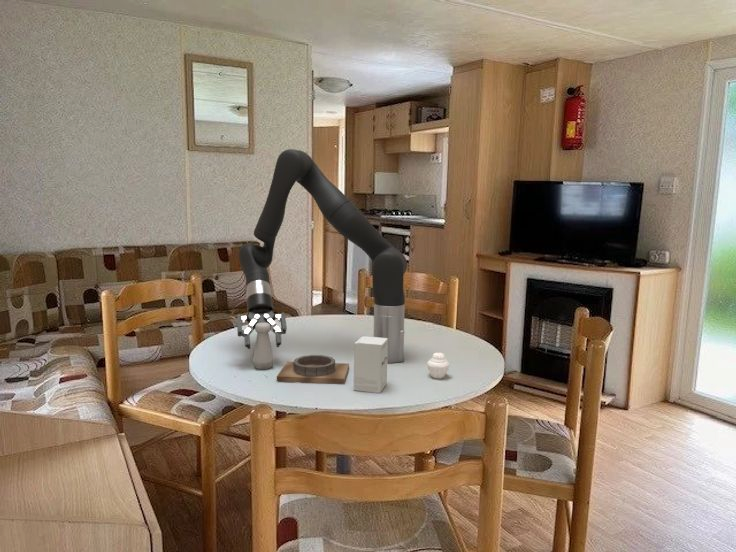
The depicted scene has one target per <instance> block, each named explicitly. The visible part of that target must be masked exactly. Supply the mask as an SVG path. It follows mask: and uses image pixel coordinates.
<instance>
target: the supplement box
mask: <svg viewBox="0 0 736 552" xmlns="http://www.w3.org/2000/svg"><path fill="white" fill-rule="evenodd" d="M353 352H354V353H353V391H356V392H357V391H358V392H359V391H360V392H368V393H374V394H375V393H376V394H381V392H382V391H383V389H384V388H385V386H386V385H387V383H388V363H387V358H388V338H380V337H374V336H363V335H362V336H361V337H359V339H357V341H355V342H354V343H353Z"/></svg>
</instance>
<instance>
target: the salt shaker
mask: <svg viewBox="0 0 736 552" xmlns="http://www.w3.org/2000/svg"><path fill="white" fill-rule="evenodd" d="M254 330H255V332H256V333H257V334H256V340H255V345H254V350H253V351H254V353H253V359H252V361H253V364H254V367H255V368H256V369H257V368H258V369H257V370H259V369H266V370H268V368H269V369H271V368H272V365H273V363H274V359H275V358H274V357H275V356H274V353H273V348H272V344H271V339H270V334H269V332H271V326H270V324H269V323H258V324H256V326H255V329H254Z"/></svg>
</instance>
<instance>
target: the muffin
mask: <svg viewBox="0 0 736 552" xmlns="http://www.w3.org/2000/svg"><path fill="white" fill-rule="evenodd" d="M426 365H427V369H428V371H429V373H430V375H431V377H432V378H433V379H443V378H445V376H446V374H447V372H448V370H449V368H450V363H449V361H448V360H447V359H446V356H445V354H444V353H442V352H435V353H432V356H431V357H430V359H429V360H428V361H427V362H426Z"/></svg>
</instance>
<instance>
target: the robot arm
mask: <svg viewBox="0 0 736 552" xmlns="http://www.w3.org/2000/svg"><path fill="white" fill-rule="evenodd" d="M296 182H297V183H298V184H299V185H300V186H301V187H302V188H304V190H306V191H307V192H308V194H309V195H310V196H312V198H313V199H314V201H315V204H316V206H317V207H318V210H320V212H321V214H322V216H323V217H324V218H325V219H326V220H327V222H328V223H329V224H330V225H331V227H333V228H334V229H335V230H336V232H338V233H339V234H340V235H341V236H343V237H344V238H345V239H347V240H348V241H350V242H351V243H352V244H354V245H355V246H357V247H358V248H359V249H361V250H362V251H363V252H364V253H365V254H366V255H367V256H368V258H370V259H371V261H372V262H373V263H372V273H371V275H372V294H373V337H380V338H388V358H387V364H395V363H399V362H402V363H403V362H404V357H405V355H404V353H405V352H404V351H405V350H404V349H405V306H406V305H405V304H406V300H405V299H406V296H405V292H404V275H405V273H406V271H407V269H408V262H407V261H408V260H407V258H406V255H404V254H403V252H401V251H400V249H398V248H397V247H395V246H394V245H393V244H391V243H390V241H388V240H387V239H386V238H385V237H384V236H383V235H382V234H381V233H380V232H379V231H378V230H377V229H376V228H375V226H374V225H373V224H372V223H371V221H369V220H368V218H367V217H366V216H365V215H364V213H363V212H362V211H361V210H360V209H359V208H358V207H357V206H356V205H355V204H354V203H353V202H352V201H351V200H350V199H349V197H347V196H346V195H345V194H344V192H342V191H341V190H340V189H339V188H338V187H337V186H336V185H335V184H333V182H331V181H330V180H329V179H328V178H327V177H326V175H325V174H324V173H323V172H322V170H321V169H320V168H319V166H318V165H317V164H316V162H315V161H314V160H313V158H312V157H311V156H310V155H309V154H308V153H307V152H305V151H302V150H301V149H300V150H299V149H293V148H290V149H289V148H288V149H285V150H283V151H282V152H281V153H280V154H279V155H278V157H277V159H276V164H275V167H274V171H273V175H272V179H271V183H270V186H269V190H268V194H267V196H266V200H265V204H264V205H263V206H264V207H263V208H262V210H261V213H260V216H259V218H258V221H257V222H256V225H255V228H254V231H253V236H254V238H256V239H257V240H259V241H261V242H262V243H263V246H261V245H258V244H257V245H256V244H254V243H248V242H247V243H246V242H245V243H244V244H242V245H241V247H240V248H239V250H238V254H237V255H238V261H239V266H240V267H241V270H242V272H243V274H244V276H245V277H244V278H245V283H246V284H245V285H246V290H245V291H246V293H245V294H246V295H245V296H246V299H245V300H246V310H247V315H242V314H240V313H239V314H237V317H236V327H237V337H242V338H244V346H245V348H247V349H248V350H250V349H251V334H252V333H253V332H254V330H255V326H256V324H258V323H269V324H270V326H271V330H270V332H271V333H272V332H273V333H274V335H275V345H276V348H280V346H281V345H282V341H283V340H282V335H285V334H287V330H288V327H287V319H286V314H285V312H284V311H282V312H281V313H280V314H279V313H278V314H275V311H274V304H273V295H272V293H273V292H272V288H271V284H270V274H269V272H268V270H267V268H268V267H270V266H271V264H272V262H273V258H274V257H273V256H274V247H275V243H276V239H277V236H278V233H279V232H280V229H281V226H282V225H283V221H284V217H285V212H286V205H287V201H288V197H289V195H290V193H291V190H292V189H293V186H294V185H295V184H296ZM275 320H277V321H278V322H279V323H280V326H281V328H280V327H279V326H278V325H277V323H276V322H275ZM245 321H247V323H248V325H247V327H246V329H245V330H244V329H243V324H245Z"/></svg>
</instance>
